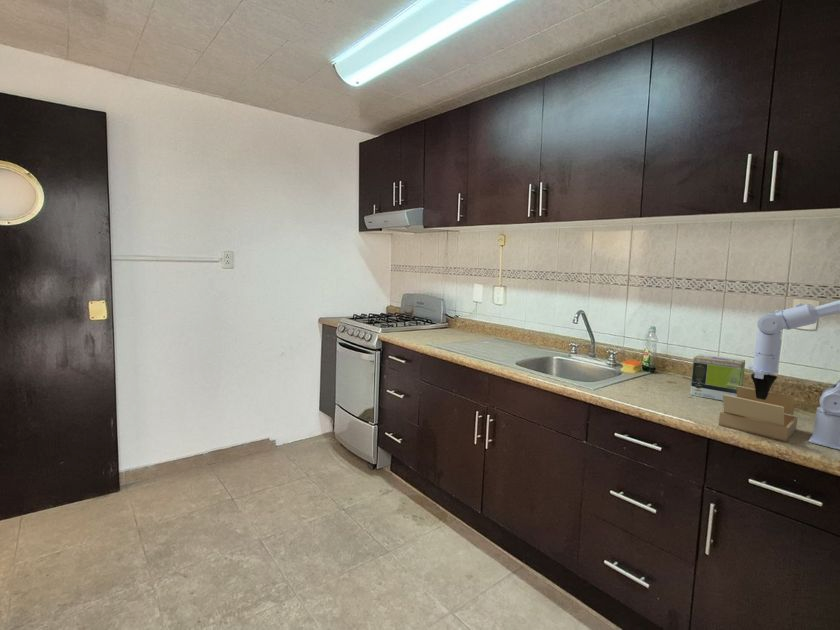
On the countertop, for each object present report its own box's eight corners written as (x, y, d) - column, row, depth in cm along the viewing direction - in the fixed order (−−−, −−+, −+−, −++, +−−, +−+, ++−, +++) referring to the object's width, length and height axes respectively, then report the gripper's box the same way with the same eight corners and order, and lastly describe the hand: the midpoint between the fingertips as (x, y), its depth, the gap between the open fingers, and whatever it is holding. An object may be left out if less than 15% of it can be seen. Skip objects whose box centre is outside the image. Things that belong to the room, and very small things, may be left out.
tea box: (741, 398, 163) (746, 359, 161) (738, 404, 155) (743, 363, 153) (694, 390, 172) (698, 353, 171) (689, 395, 165) (693, 356, 163)
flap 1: (784, 406, 119) (783, 407, 118) (784, 424, 122) (783, 425, 122) (723, 394, 129) (722, 395, 129) (724, 410, 132) (724, 411, 132)
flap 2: (793, 415, 131) (793, 414, 131) (793, 397, 128) (794, 396, 128) (737, 402, 142) (737, 402, 142) (736, 386, 138) (736, 385, 139)
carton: (795, 430, 131) (797, 417, 131) (786, 442, 121) (787, 428, 121) (732, 415, 143) (733, 403, 143) (718, 425, 133) (720, 412, 133)
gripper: (756, 349, 138) (750, 391, 139) (744, 354, 128) (738, 399, 130) (784, 353, 133) (779, 396, 134) (774, 358, 123) (768, 405, 124)
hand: (761, 398), depth 132 cm, fingers closed
